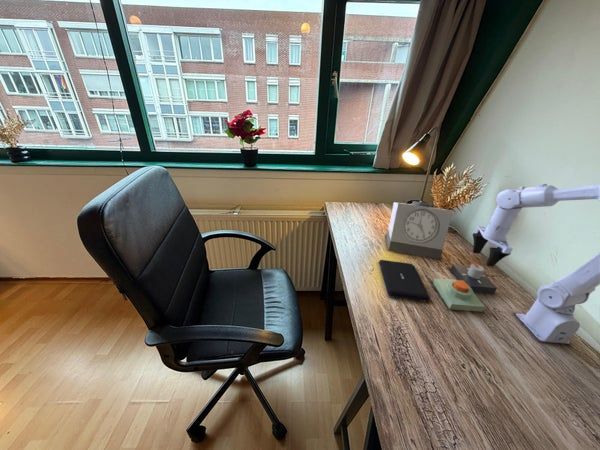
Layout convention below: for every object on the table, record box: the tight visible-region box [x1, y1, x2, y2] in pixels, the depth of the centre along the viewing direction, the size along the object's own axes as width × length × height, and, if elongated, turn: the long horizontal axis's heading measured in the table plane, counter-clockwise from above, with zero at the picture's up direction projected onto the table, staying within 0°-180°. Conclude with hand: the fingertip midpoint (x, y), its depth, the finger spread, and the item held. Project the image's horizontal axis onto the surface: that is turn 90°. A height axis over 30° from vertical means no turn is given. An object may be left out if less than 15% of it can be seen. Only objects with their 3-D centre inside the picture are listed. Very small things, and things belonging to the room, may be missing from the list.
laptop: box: [378, 259, 431, 302], centre depth 86 cm, size 16×20×2 cm
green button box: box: [432, 277, 486, 313], centre depth 80 cm, size 12×10×4 cm
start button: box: [453, 279, 469, 292], centre depth 79 cm, size 4×4×2 cm
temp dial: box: [467, 263, 485, 279], centre depth 87 cm, size 4×4×4 cm
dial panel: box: [450, 264, 498, 294], centre depth 88 cm, size 12×9×3 cm
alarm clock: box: [385, 200, 454, 260], centre depth 104 cm, size 20×16×20 cm
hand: (482, 259), depth 86 cm, fingers open, 7 cm apart
